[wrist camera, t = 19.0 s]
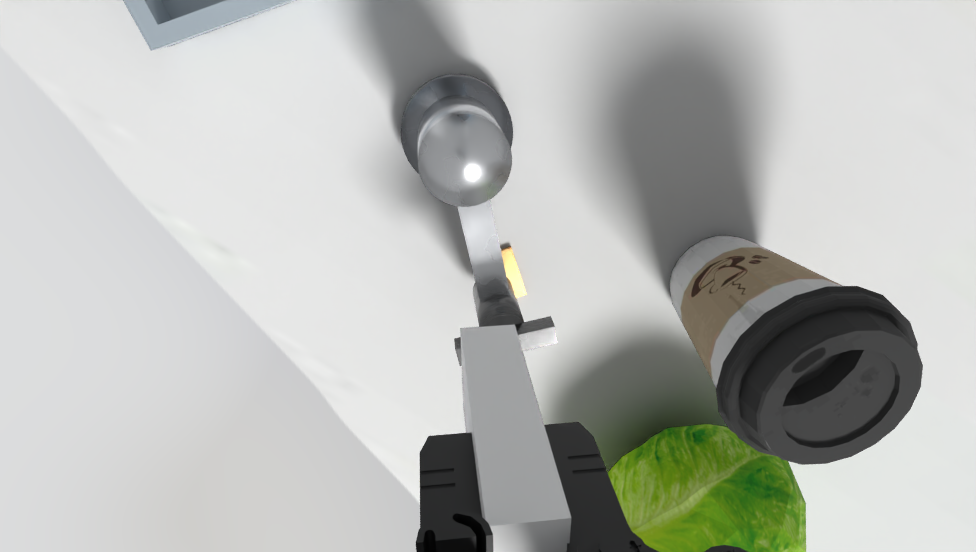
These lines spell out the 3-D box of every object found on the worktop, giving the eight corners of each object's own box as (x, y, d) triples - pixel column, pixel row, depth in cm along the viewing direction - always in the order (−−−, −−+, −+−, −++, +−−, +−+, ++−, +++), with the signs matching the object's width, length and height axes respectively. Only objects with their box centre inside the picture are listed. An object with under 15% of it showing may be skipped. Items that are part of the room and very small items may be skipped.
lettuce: (516, 488, 52) (547, 639, 40) (703, 355, 48) (800, 479, 36) (613, 565, 58) (664, 716, 46) (786, 453, 54) (893, 587, 42)
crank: (400, 106, 35) (396, 135, 28) (497, 84, 35) (516, 107, 29) (455, 314, 42) (462, 376, 35) (536, 295, 42) (559, 353, 35)
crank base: (384, 95, 36) (383, 99, 35) (491, 58, 36) (494, 60, 35) (468, 311, 44) (470, 319, 43) (557, 281, 43) (561, 289, 42)
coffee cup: (738, 175, 41) (893, 265, 28) (810, 277, 46) (973, 397, 32) (612, 277, 44) (698, 405, 30) (692, 364, 48) (798, 509, 35)
